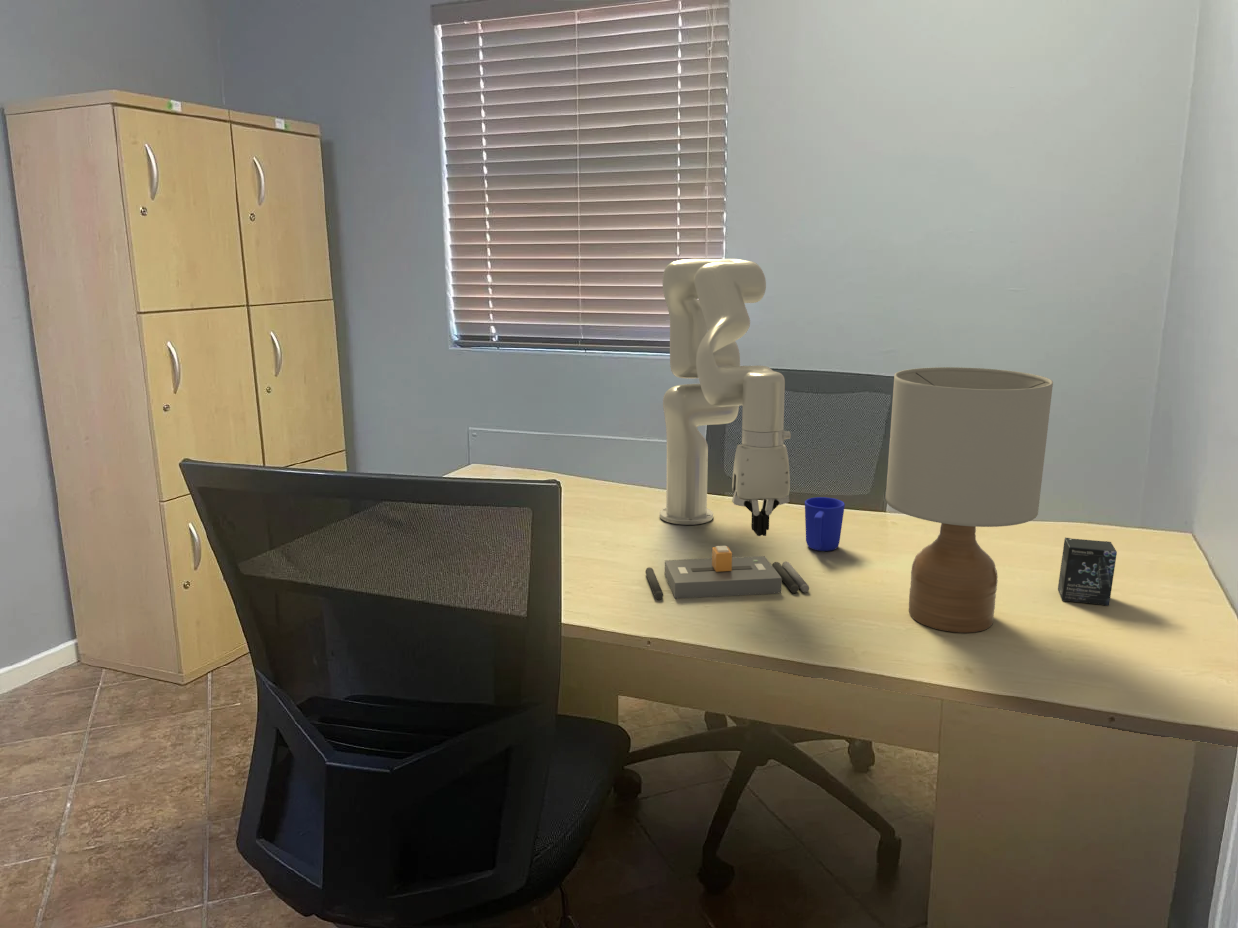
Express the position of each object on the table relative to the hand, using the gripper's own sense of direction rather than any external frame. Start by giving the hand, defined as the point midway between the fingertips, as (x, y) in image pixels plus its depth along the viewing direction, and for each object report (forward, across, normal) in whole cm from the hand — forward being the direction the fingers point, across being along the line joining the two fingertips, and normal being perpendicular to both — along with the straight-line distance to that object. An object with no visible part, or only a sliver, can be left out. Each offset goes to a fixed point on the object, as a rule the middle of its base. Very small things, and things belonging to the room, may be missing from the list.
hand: (760, 533), depth 170 cm
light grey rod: (+10, -7, -1) cm, 12 cm away
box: (+11, -57, +14) cm, 60 cm away
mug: (+10, -18, -17) cm, 26 cm away
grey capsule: (+10, -5, -1) cm, 11 cm away
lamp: (+11, -29, +19) cm, 36 cm away
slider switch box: (+10, +7, -1) cm, 12 cm away
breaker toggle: (+7, +7, -1) cm, 10 cm away
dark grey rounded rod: (+10, +20, -1) cm, 22 cm away
